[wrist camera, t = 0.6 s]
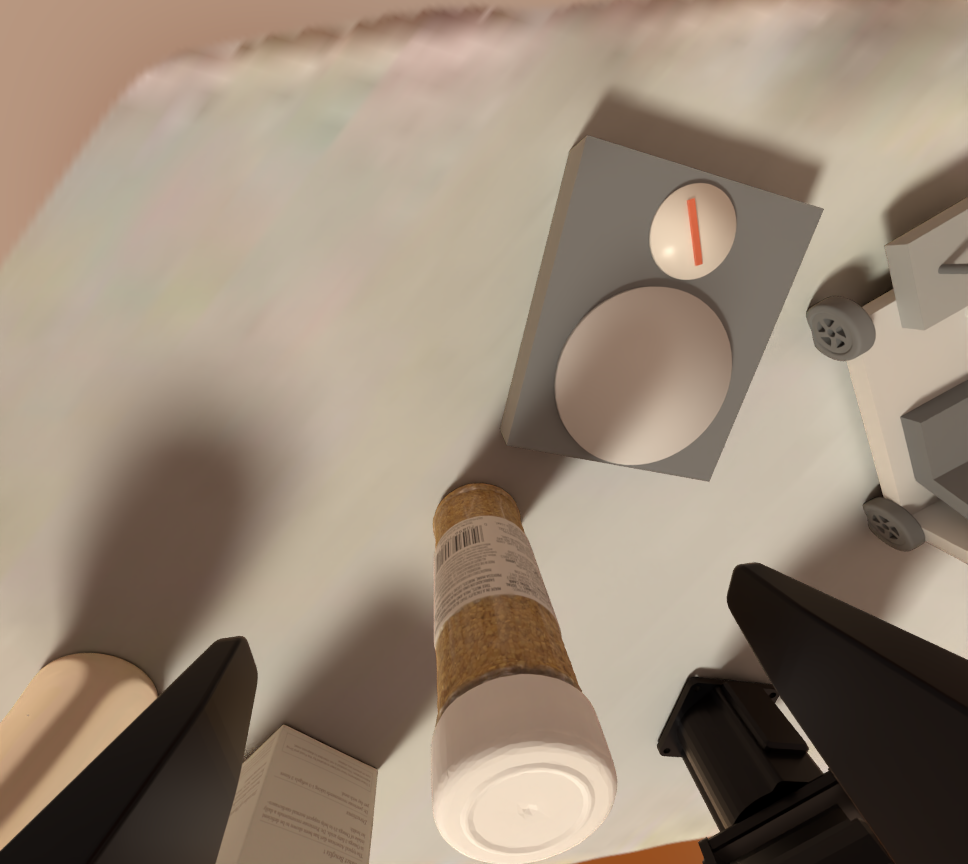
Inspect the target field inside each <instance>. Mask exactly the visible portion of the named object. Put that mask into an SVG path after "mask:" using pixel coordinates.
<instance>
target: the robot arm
mask: <svg viewBox="0 0 968 864" xmlns="http://www.w3.org/2000/svg"><path fill="white" fill-rule="evenodd" d="M727 603H728V607H729V609H730V611H731V613H732V615H733V617H734V618H735V620H736V622H737V624H738V625H739V627H740V629H741V631H742V632H743V634H744V636H745V638H746V640H747V641H748V643H749V645H750V647H751V648H752V650H753V652H754V654H755V655H756V657H757V659H758V661H759V662H760V664H761V666H762V668H763V669H764V671H765V673H766V675H767V676H768V678H769V680H770V681H771V683H772V684H763V683H752V682H742V681H731V680H720V679H709V678H699V677H694V678H691V679H690V680H688V682H687V683H686V685H685V687H684V690H683V692H682V694H681V696H680V698H679V700H678V702H677V704H676V706H675V708H674V711H673V713H672V715H671V717H670V719H669V721H668V723H667V725H666V727H665V729H664V732H663V734H662V736H661V738H660V740H659V742H658V744H657V748H658V751H659V753H660V755H662V756H669V757H682V758H683V760H684V762H685V764H686V766H687V768H688V770H689V772H690V774H691V776H692V778H693V780H694V782H695V784H696V786H697V788H698V789H699V791H700V793H701V795H702V797H703V799H704V801H705V803H706V805H707V807H708V809H709V811H710V813H711V815H712V817H713V819H714V821H715V823H716V825H717V827H718V828H719V830H720V832H719V833H718V834H716V835H714V836H712V837H711V838H709V839H708V838H707V837H706V838H704V839H702V840H701V841H699V842H698V843H699V846H700V848H701V851H702V854H703V856H704V860H703V864H968V660H967V659H965V658H963V657H961V656H958V655H956V654H954V653H952V652H950V651H948V650H946V649H943V648H941V647H939V646H937V645H935V644H933V643H930V642H928V641H926V640H924V639H922V638H920V637H918V636H915V635H913V634H911V633H909V632H907V631H905V630H903V629H900V628H898V627H896V626H894V625H892V624H890V623H887V622H885V621H883V620H881V619H879V618H877V617H875V616H872V615H870V614H868V613H866V612H864V611H862V610H860V609H857V608H855V607H853V606H851V605H849V604H847V603H844V602H842V601H840V600H838V599H836V598H834V597H832V596H829V595H827V594H825V593H823V592H821V591H819V590H817V589H814V588H812V587H810V586H808V585H806V584H804V583H801V582H799V581H797V580H795V579H793V578H791V577H789V576H786V575H784V574H782V573H780V572H778V571H776V570H774V569H771V568H769V567H767V566H765V565H763V564H760V563H755V562H753V563H746V564H740V565H737V566H736V567H735V568H734V570H733V573H732V577H731V581H730V585H729V589H728V593H727ZM257 680H258V673H257V668H256V665H255V662H254V659H253V656H252V653H251V650H250V647H249V644H248V641H247V639H246V638H245V637H243V636H236V637H229V638H222V639H219V640H217V641H215V642H214V643H213V644H212V645H211V646H210V647H209V648H208V649H207V650H206V651H205V652H204V653H203V654H202V655H200V656H199V657H198V658H197V659H196V660H195V661H194V662H193V663H192V664H191V665H190V666H189V667H188V668H187V669H186V670H185V671H184V672H183V673H182V674H181V675H180V676H179V677H178V678H177V679H176V680H175V681H174V682H173V683H172V684H171V685H170V686H169V687H168V688H167V689H166V690H165V691H164V692H163V693H161V694H160V695H159V696H158V697H157V698H156V699H155V700H154V701H153V702H152V703H151V704H150V705H149V706H148V707H147V708H146V709H145V710H144V711H143V712H142V713H141V714H140V715H139V716H138V717H137V718H136V719H135V720H134V721H133V722H132V723H131V724H130V725H129V726H128V727H127V728H126V729H125V730H124V731H122V732H121V733H120V734H119V735H118V736H117V737H116V738H115V739H114V740H113V741H112V742H111V743H110V744H109V745H108V746H107V747H106V748H105V749H104V750H103V751H102V752H101V753H100V754H99V755H98V756H97V757H96V758H95V759H94V760H93V761H92V762H91V763H90V764H89V765H88V766H87V767H86V768H85V769H84V770H82V771H81V772H80V773H79V774H78V775H77V776H76V777H75V778H74V779H73V780H72V781H71V782H70V783H69V784H68V785H67V786H66V787H65V788H64V789H63V790H62V791H61V792H60V793H59V794H58V795H57V796H56V797H55V798H54V799H53V800H52V801H51V802H50V803H49V804H48V805H47V806H46V807H45V808H43V809H42V810H41V811H40V812H39V813H38V814H37V815H36V816H35V817H34V818H33V819H32V820H31V821H30V822H29V823H28V824H27V825H26V826H25V827H24V828H23V829H22V830H21V831H20V832H19V833H18V834H17V835H16V836H15V837H14V838H13V839H12V840H11V841H10V842H9V843H8V844H7V845H6V846H5V847H3V848H2V849H1V850H0V864H216V861H217V857H218V854H219V850H220V847H221V844H222V840H223V837H224V833H225V830H226V826H227V823H228V819H229V816H230V812H231V809H232V805H233V802H234V798H235V794H236V790H237V787H238V782H239V777H240V773H241V768H242V763H243V757H244V752H245V746H246V741H247V736H248V730H249V725H250V720H251V714H252V709H253V704H254V698H255V693H256V688H257ZM779 695H780V697H781V698H782V700H783V701H784V703H785V704H786V706H787V707H788V709H789V710H790V712H791V713H792V715H793V716H794V717H795V719H796V720H797V722H798V723H799V725H800V726H801V728H802V729H803V731H804V732H805V733H806V735H807V736H808V738H809V739H810V741H811V742H812V744H813V745H814V747H815V748H816V749H817V751H818V752H819V754H820V755H821V757H822V758H823V760H824V761H825V763H826V764H827V765H828V767H829V768H828V770H829V771H828V772H826V773H823V772H822V771H821V770H820V768H819V767H818V766H817V764H816V763H815V762H814V761H813V759H812V758H811V757H810V755H809V754H808V753H807V752H808V750H809V747H808V746H807V744H806V742H805V741H804V740H803V738H802V737H801V736H800V735H799V733H798V732H797V731H796V730H795V728H794V727H793V726H792V724H791V723H790V722H789V721H788V719H787V718H786V717H785V716H784V714H783V713H782V712H781V711H780V709H779V708H778V707H777V706H776V704H775V702H776V700H777V699H778V697H779Z"/></svg>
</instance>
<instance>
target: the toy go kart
mask: <svg viewBox="0 0 968 864" xmlns="http://www.w3.org/2000/svg"><path fill="white" fill-rule="evenodd" d="M884 247H885V252H886V256H887V261H888V265H889V270H890V275H891V279H892V284H893V288H894V289H892V290H890V291H889V292H887V293H885V294H883V295H882V296H880V297H878V298H876V299H875V300H873V301H871V302H869V303H868V304H866V305H864V306H863V307H861V306H860V305H858V304H857V303H855V302H854V301H852V300H850V299H848V298H844V297H839V296H833V297H828V298H826V299H824V300H822V301H820V302H819V303H817V304H815V305H814V306H812V307H811V308H810V309H809V310H808V311H807V313H806V318H807V321H808V324H809V326H810V328H811V331H812V336H813V341H814V344H815V347H816V348H817V349H818V350H819V351H820V352H822V353H823V354H824V355H826V356H828V357H830V358H832V359H834V360H838V361H847V365H848V369H849V372H850V376H851V380H852V383H853V387H854V391H855V394H856V398H857V402H858V405H859V409H860V413H861V416H862V420H863V424H864V427H865V431H866V434H867V438H868V442H869V445H870V449H871V453H872V456H873V460H874V464H875V467H876V471H877V475H878V478H879V482H880V486H881V489H882V493H883V497H884V498H882V497H877V498H874V499H872V500H870V501H868V502H866V503H864V505H863V508H864V511H865V513H866V515H867V517H868V525H869V528H870V530H871V531H872V532H873V533H874V534H875V535H876V536H877V537H878V538H880V539H881V540H882V541H883V542H885V543H886V544H888V545H889V546H891V547H893V548H895V549H897V550H900V551H911V550H913V549H915V548H917V547H919V546H920V545H922V544H923V543H924V542H925V541H926V542H927V543H929V544H931V545H933V546H935V547H937V548H939V549H940V550H942V551H944V552H946V553H948V554H950V555H951V556H953V557H955V558H957V559H959V560H961V561H962V562H964V563H966V564H968V197H967V198H965V199H963V200H961V201H960V202H958V203H956V204H955V205H953V206H951V207H949V208H948V209H946V210H944V211H943V212H941V213H939V214H938V215H936V216H934V217H932V218H931V219H929V220H927V221H926V222H924V223H922V224H920V225H919V226H917V227H915V228H914V229H912V230H910V231H909V232H907V233H905V234H903V235H902V236H900V237H898V238H897V239H895V240H893V241H891V242H890V243H888V244H886V245H885V246H884Z"/></svg>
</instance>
